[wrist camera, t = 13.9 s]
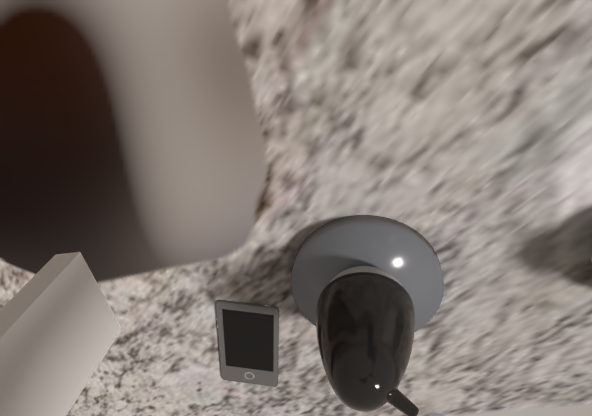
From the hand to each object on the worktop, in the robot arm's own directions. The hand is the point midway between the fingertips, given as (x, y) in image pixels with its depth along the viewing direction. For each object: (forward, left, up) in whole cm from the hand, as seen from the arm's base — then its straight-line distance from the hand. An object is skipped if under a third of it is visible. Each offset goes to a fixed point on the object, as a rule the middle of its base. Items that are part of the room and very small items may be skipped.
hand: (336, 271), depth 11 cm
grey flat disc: (+3, +27, -34) cm, 44 cm away
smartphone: (+20, +37, -35) cm, 55 cm away
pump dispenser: (+3, +27, -33) cm, 43 cm away
